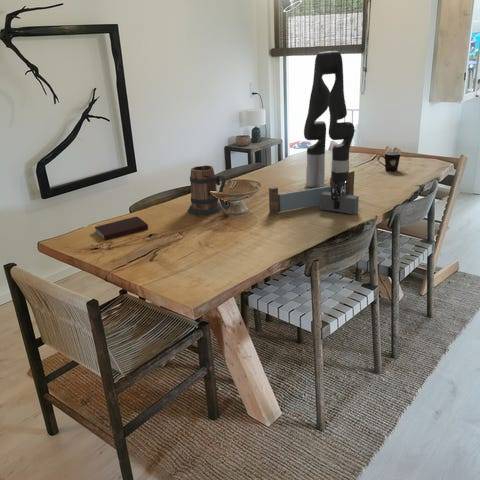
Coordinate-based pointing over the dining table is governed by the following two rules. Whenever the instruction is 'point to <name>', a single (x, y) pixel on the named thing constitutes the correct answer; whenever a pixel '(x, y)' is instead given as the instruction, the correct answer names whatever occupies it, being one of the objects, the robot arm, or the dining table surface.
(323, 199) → the block
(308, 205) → the gate leaf
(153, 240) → the dining table surface
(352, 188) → the wooden block
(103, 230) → the book
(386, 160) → the coffee mug
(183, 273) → the dining table surface
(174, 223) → the dining table surface
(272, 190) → the gate frame
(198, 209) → the tankard
